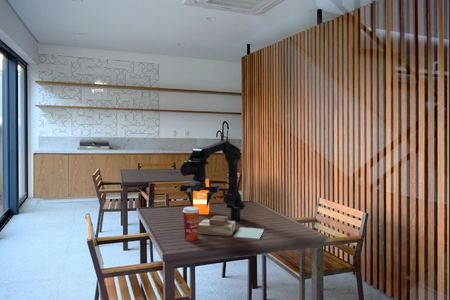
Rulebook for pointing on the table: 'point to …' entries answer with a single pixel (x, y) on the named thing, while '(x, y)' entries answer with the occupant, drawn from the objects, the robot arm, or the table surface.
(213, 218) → the walnut block
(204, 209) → the orange juice
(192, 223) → the paper cup
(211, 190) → the robot arm
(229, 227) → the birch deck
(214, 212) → the table surface
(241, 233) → the sage mat
